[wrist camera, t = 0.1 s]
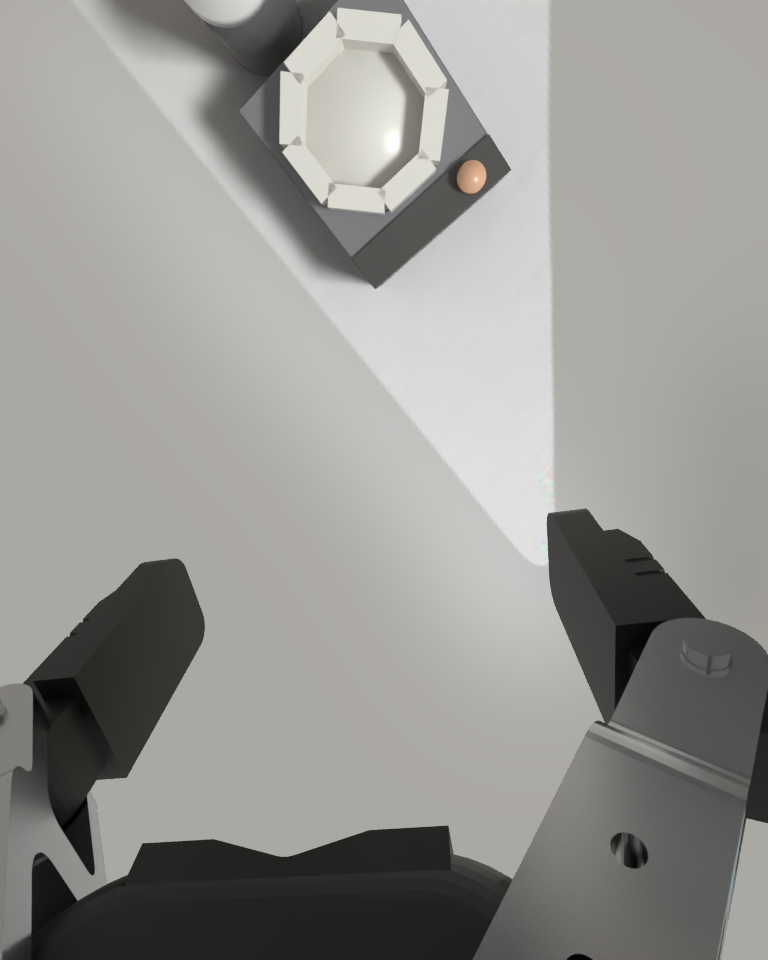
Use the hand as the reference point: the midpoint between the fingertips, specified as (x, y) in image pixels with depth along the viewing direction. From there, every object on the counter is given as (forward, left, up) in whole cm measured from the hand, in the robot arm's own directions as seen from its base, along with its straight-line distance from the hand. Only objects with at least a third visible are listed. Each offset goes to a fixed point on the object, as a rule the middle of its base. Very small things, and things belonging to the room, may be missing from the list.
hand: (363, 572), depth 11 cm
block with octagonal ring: (-13, +1, -29) cm, 32 cm away
